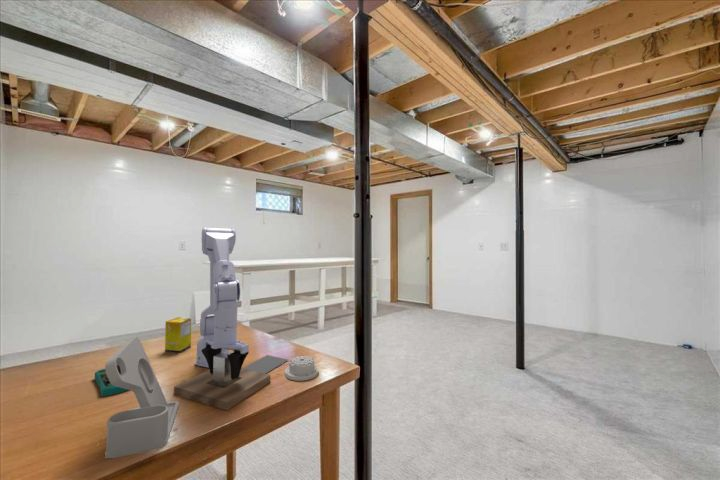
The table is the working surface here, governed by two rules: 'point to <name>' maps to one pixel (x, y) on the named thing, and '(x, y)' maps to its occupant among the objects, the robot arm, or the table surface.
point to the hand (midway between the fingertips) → (224, 375)
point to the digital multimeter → (106, 384)
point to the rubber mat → (265, 364)
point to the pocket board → (217, 396)
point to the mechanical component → (301, 369)
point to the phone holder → (153, 416)
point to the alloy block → (222, 370)
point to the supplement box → (178, 335)
